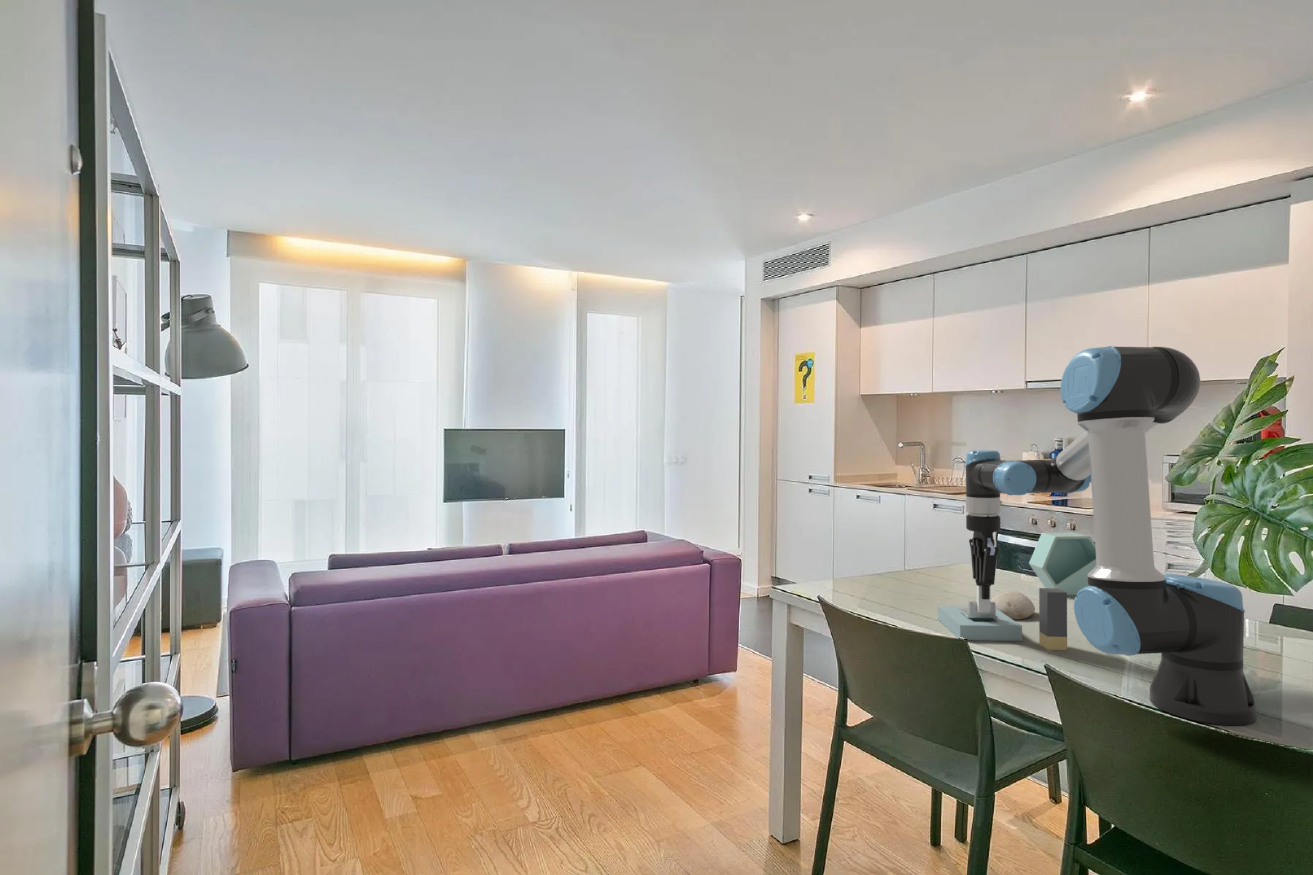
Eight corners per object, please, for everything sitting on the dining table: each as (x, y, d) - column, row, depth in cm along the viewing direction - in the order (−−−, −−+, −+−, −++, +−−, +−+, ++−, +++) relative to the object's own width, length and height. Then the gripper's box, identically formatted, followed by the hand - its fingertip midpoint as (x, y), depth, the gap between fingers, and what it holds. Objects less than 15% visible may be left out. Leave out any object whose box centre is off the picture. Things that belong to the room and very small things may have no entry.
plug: (1067, 650, 161) (1066, 592, 161) (1047, 649, 162) (1047, 592, 162) (1058, 644, 166) (1058, 588, 165) (1039, 644, 166) (1039, 588, 166)
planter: (1070, 610, 212) (1031, 552, 212) (1056, 604, 220) (1018, 548, 219) (1118, 578, 212) (1079, 520, 211) (1102, 573, 220) (1064, 517, 219)
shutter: (997, 618, 174) (997, 602, 174) (968, 617, 175) (968, 602, 175) (987, 611, 181) (987, 596, 181) (959, 610, 182) (959, 595, 182)
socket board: (1022, 640, 169) (1022, 625, 169) (960, 639, 170) (960, 625, 170) (993, 620, 187) (993, 606, 187) (937, 619, 188) (937, 606, 188)
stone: (1007, 637, 187) (1023, 616, 183) (975, 610, 193) (991, 589, 189) (1030, 623, 195) (1047, 603, 191) (999, 598, 201) (1015, 577, 197)
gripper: (1010, 517, 167) (1010, 619, 167) (989, 510, 180) (989, 604, 180) (976, 517, 167) (976, 618, 168) (958, 510, 180) (958, 604, 181)
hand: (983, 611), depth 174 cm, fingers closed
